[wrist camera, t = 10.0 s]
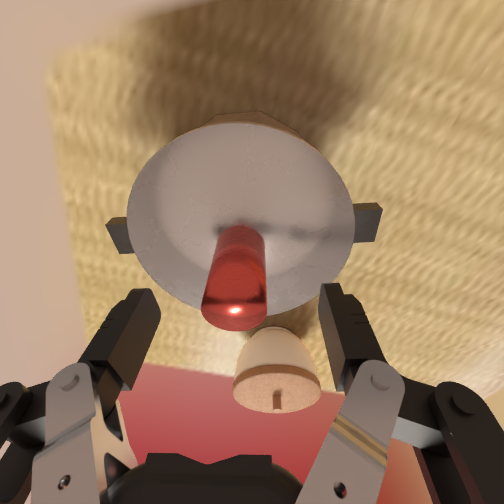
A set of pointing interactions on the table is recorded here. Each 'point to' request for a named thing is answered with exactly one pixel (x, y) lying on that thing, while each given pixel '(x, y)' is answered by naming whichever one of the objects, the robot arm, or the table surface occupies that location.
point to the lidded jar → (275, 373)
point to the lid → (240, 221)
